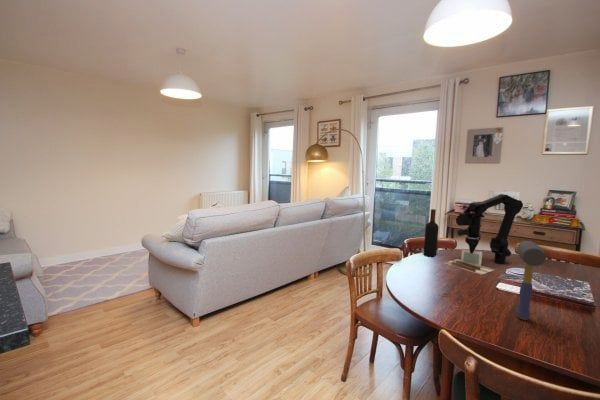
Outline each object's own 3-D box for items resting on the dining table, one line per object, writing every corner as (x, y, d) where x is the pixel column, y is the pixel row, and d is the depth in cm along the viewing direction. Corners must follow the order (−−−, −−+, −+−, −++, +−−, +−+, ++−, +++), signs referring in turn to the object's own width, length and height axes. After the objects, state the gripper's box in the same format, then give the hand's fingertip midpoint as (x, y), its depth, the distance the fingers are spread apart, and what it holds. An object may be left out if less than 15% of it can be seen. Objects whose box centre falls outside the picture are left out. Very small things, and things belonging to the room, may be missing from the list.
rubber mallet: (538, 329, 107) (549, 249, 103) (513, 323, 110) (522, 246, 106) (531, 313, 118) (540, 240, 114) (508, 309, 121) (516, 238, 117)
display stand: (458, 260, 181) (458, 256, 181) (495, 271, 164) (495, 266, 163) (443, 264, 173) (444, 260, 173) (480, 276, 156) (481, 272, 155)
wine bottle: (420, 254, 191) (424, 208, 187) (429, 253, 195) (432, 208, 191) (430, 258, 185) (434, 210, 181) (439, 256, 188) (442, 210, 184)
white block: (460, 263, 173) (461, 250, 172) (461, 261, 175) (462, 248, 174) (480, 267, 167) (481, 253, 166) (481, 265, 169) (482, 252, 168)
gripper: (461, 220, 180) (459, 245, 182) (456, 225, 165) (454, 252, 167) (482, 223, 174) (480, 248, 176) (479, 228, 159) (476, 256, 161)
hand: (472, 251), depth 170 cm, fingers open, 9 cm apart
